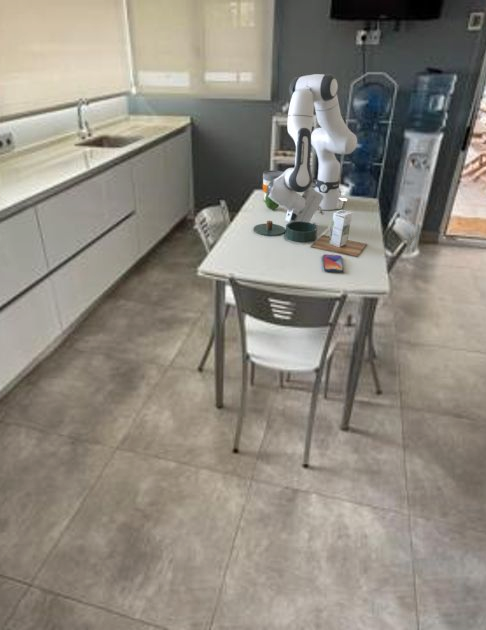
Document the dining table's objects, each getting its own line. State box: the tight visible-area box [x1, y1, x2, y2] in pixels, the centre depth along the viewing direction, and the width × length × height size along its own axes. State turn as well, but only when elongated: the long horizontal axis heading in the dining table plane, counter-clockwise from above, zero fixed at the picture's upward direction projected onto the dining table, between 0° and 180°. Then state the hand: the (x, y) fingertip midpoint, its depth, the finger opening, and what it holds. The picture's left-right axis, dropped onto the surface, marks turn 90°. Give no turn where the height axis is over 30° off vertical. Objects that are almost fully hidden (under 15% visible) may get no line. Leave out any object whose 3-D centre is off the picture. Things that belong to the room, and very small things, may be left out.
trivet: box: [311, 234, 367, 258], centre depth 195 cm, size 15×20×1 cm
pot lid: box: [252, 220, 286, 237], centre depth 207 cm, size 15×15×5 cm
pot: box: [284, 221, 318, 244], centre depth 201 cm, size 14×14×5 cm
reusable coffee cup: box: [262, 169, 284, 201], centre depth 245 cm, size 13×13×15 cm
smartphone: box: [322, 253, 345, 273], centre depth 178 cm, size 7×15×1 cm, turn 171°
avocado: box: [264, 195, 280, 211], centre depth 233 cm, size 8×8×12 cm
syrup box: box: [329, 209, 353, 248], centre depth 191 cm, size 6×6×14 cm
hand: (319, 219), depth 214 cm, fingers open, 5 cm apart
